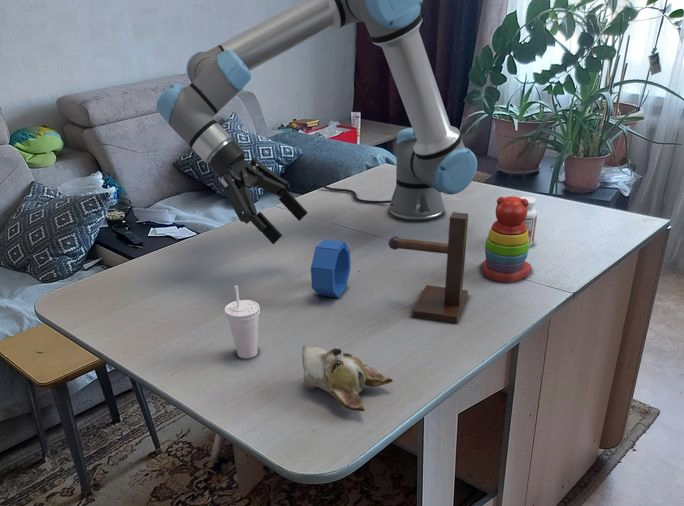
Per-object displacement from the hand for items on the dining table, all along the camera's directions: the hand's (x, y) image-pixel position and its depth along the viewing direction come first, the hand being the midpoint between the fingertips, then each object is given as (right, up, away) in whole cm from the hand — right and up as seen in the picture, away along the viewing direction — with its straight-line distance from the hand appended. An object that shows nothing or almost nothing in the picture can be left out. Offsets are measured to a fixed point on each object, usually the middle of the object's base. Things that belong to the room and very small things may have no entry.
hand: (291, 228), depth 137 cm
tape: (+9, -13, +4) cm, 16 cm away
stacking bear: (+48, -9, +9) cm, 49 cm away
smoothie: (-7, -27, -16) cm, 32 cm away
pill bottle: (+55, +1, +24) cm, 60 cm away
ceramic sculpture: (+10, -33, -27) cm, 44 cm away
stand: (+28, -16, -2) cm, 32 cm away
